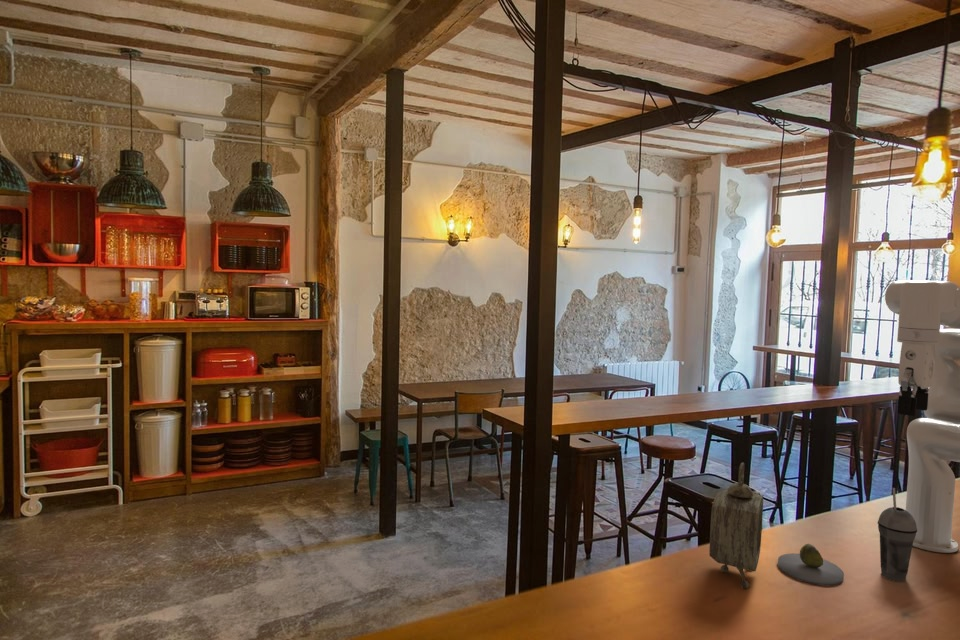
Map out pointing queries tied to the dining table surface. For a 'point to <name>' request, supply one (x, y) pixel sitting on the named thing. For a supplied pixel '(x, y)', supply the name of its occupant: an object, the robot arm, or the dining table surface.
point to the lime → (811, 556)
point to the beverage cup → (896, 541)
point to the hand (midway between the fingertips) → (912, 412)
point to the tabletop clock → (736, 527)
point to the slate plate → (810, 570)
